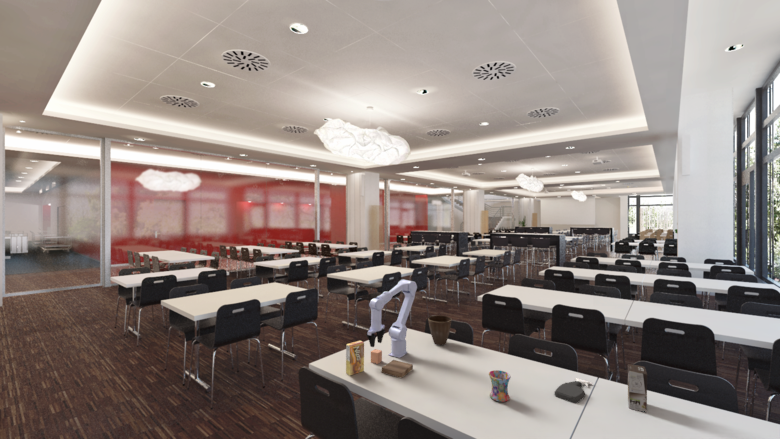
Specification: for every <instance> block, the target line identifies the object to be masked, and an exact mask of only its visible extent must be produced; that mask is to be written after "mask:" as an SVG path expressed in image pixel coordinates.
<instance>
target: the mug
mask: <svg viewBox="0 0 780 439" xmlns="http://www.w3.org/2000/svg"><path fill="white" fill-rule="evenodd" d="M488 376H489V379H490V381H491V390H490V392H489V397H490V398H491V399H492V400H493V401H496V402H500V403H501V402H502V403H504V402H509V400H510V395H509V392H508V385H509V382H510V380H511V378H512V377H511V374H510V373H509V372H507V371H504V370H501V369H500V370H498V369H495V370H491V371H489V372H488Z"/></svg>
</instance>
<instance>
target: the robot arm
mask: <svg viewBox="0 0 780 439" xmlns="http://www.w3.org/2000/svg"><path fill="white" fill-rule="evenodd" d="M417 289H418V285H417V283H416V281H413V280H408V279H404V278H402V279H400V280H399V281H398V282H397V284H396V285H394V286H393V287H392V288H391V289H390V290H389V291H388V290H387V291H383V292H382V293H381V294H379V295H377V296H376V297H374V298H372V299H370V302H369V304H368V306H369V308H370V311H371V314H370V319H371V320H370V324H371V325H370V327H369V329H368V331H367V333H366V337H367V339H368V342H369V346H370V347H371V348H374V347H375V345H376V339H377V343H379V344H382V342H383V338H384V335H385V333H386V329H385V324H382V310H383V309H384V307H385V305H386V304H388V302H390V301H391V300H392V298H393V296H395V295H397V294H398V293H400V292H402V293H403V294H404V299H403V302H402V305H401V308H400V309H399V313H398V315H397V316H398V317H397V320H396V321H395V322H393V323H392V325H391V326H390V328H389V329H388V336H389V337H390V341H391V344H390V345H391V349H390V350H391V352H390V353H388V356H390V357H395V358H399V359H400V358H402V357H403V356H405V355H407V354H408V351H407V340H406V337H407V332H408V328H407V326H406V323H407V320H408V318H409V314H410V312H411V310H412V309H411V308H412V306H413V303H414V300H415V299H416V298H415V297H416V292H417ZM375 333H376V334H375Z"/></svg>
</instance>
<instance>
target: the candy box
mask: <svg viewBox="0 0 780 439" xmlns="http://www.w3.org/2000/svg"><path fill="white" fill-rule="evenodd" d="M345 349H346V350H345V361H346V362H345V373H346V375H348V376H353V375H356V374H359V373H362V372H364V371H365V342H364V341H362V340H357V341H353V342H350V343H346V346H345Z"/></svg>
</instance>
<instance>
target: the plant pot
mask: <svg viewBox="0 0 780 439" xmlns="http://www.w3.org/2000/svg"><path fill="white" fill-rule="evenodd" d="M427 321H428V326H429V331H430V335H431V338H432V341H433V343H434V344H435V345H436V346H445V345H446V344H447V342H448V338H449V336H450V332H451V328H452V327H451V326H452V317H449V316H447V315H432V316H431V315H430V316H429V317H428V318H427Z"/></svg>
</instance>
